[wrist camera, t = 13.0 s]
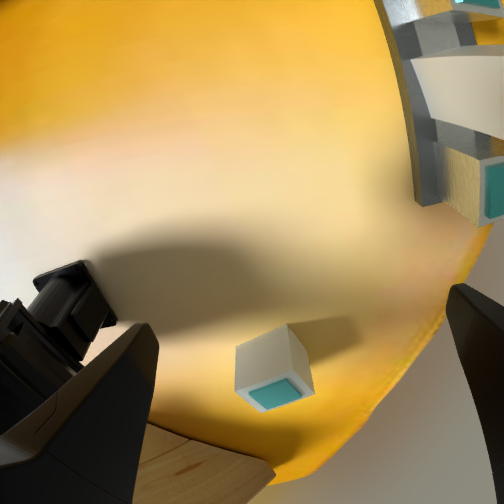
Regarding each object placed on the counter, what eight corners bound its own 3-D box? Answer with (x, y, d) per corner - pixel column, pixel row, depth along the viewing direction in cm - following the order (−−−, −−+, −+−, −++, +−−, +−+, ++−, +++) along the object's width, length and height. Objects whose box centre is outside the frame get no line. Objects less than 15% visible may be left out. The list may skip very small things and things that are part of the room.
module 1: (259, 369, 28) (261, 415, 24) (235, 345, 26) (234, 394, 22) (306, 349, 27) (315, 396, 22) (286, 323, 25) (293, 372, 21)
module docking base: (414, 200, 20) (464, 243, 14) (360, -33, 12) (403, -70, 6) (483, 183, 19) (536, 216, 13) (443, -27, 11) (497, -46, 5)
